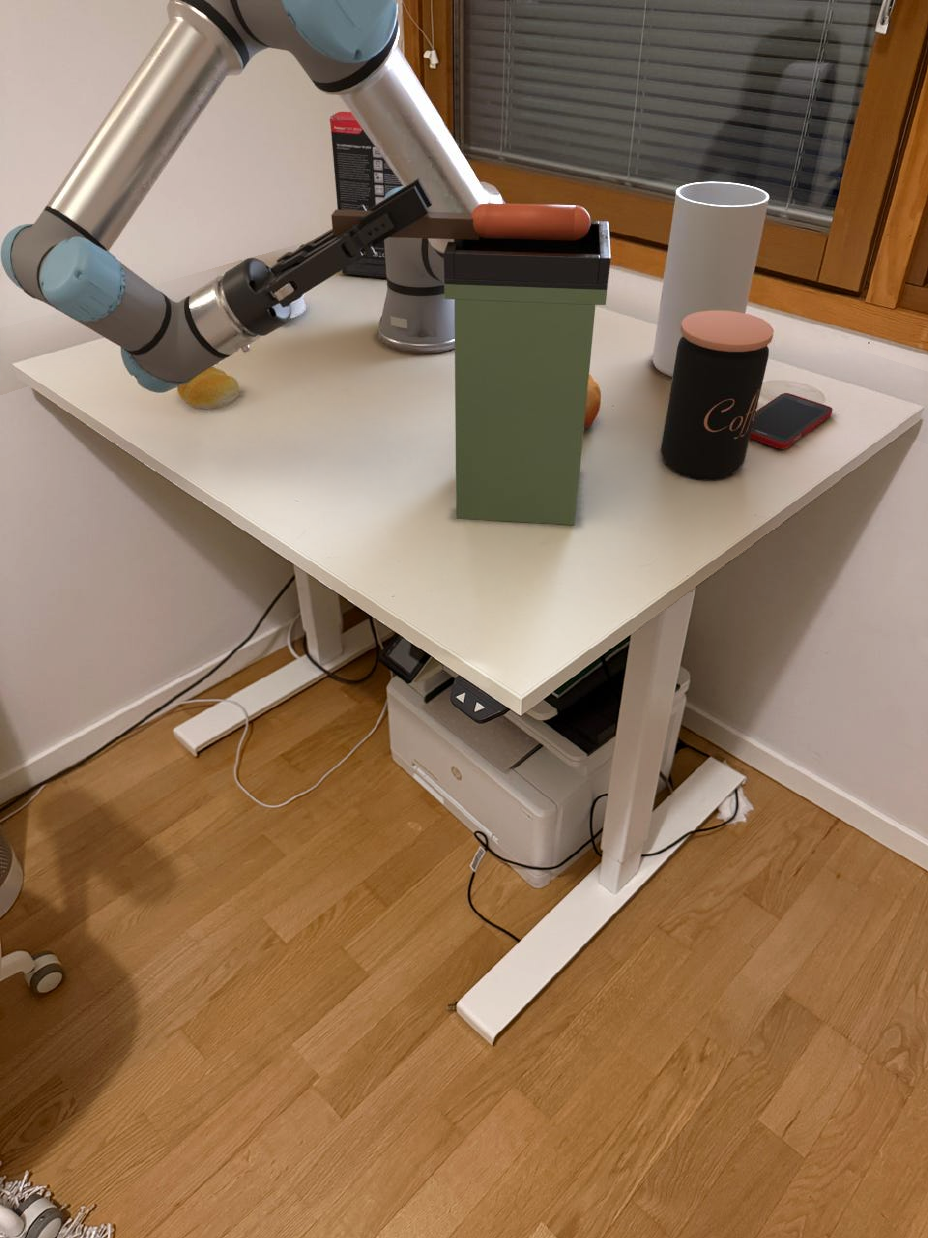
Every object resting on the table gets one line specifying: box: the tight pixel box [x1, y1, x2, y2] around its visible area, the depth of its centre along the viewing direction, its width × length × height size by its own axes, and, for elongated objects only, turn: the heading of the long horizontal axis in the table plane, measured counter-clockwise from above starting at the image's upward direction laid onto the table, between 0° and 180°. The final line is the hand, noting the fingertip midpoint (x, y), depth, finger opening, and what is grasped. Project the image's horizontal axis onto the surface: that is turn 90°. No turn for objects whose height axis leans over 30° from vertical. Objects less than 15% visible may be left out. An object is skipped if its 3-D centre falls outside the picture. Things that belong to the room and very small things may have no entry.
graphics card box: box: [329, 111, 403, 279], centre depth 161 cm, size 17×7×27 cm, turn 77°
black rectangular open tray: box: [444, 220, 612, 291], centre depth 90 cm, size 16×12×3 cm
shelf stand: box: [444, 284, 608, 526], centre depth 99 cm, size 16×12×28 cm
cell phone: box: [750, 392, 833, 450], centre depth 122 cm, size 8×15×1 cm, turn 137°
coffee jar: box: [660, 310, 775, 481], centre depth 109 cm, size 11×11×18 cm
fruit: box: [584, 373, 602, 429], centre depth 121 cm, size 8×8×8 cm
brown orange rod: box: [330, 202, 591, 241], centre depth 88 cm, size 26×3×3 cm, turn 84°
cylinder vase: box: [652, 181, 770, 378], centre depth 129 cm, size 12×12×25 cm
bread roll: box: [176, 366, 240, 410], centre depth 128 cm, size 8×9×4 cm
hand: (423, 195), depth 87 cm, fingers closed on brown orange rod, 2 cm apart
